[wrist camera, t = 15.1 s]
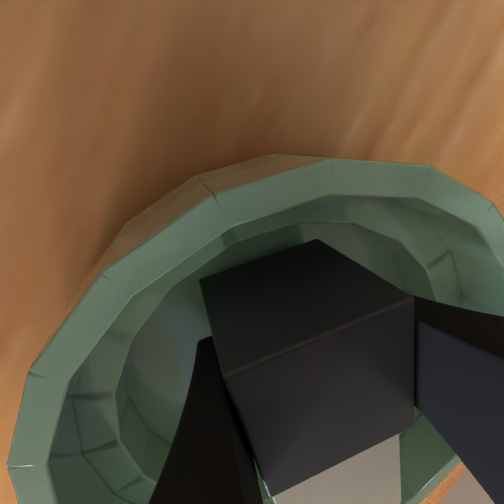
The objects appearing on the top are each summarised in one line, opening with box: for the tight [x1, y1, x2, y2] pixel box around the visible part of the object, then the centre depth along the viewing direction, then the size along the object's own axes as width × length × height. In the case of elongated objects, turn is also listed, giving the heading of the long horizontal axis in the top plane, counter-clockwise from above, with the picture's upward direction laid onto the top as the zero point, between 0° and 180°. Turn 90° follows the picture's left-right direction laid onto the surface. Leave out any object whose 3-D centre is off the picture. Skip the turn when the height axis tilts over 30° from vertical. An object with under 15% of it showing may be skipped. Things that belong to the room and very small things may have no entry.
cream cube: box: [272, 434, 401, 504], centre depth 12 cm, size 4×4×4 cm
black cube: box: [199, 239, 415, 497], centre depth 9 cm, size 4×4×4 cm
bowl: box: [7, 154, 504, 504], centre depth 11 cm, size 17×17×4 cm
